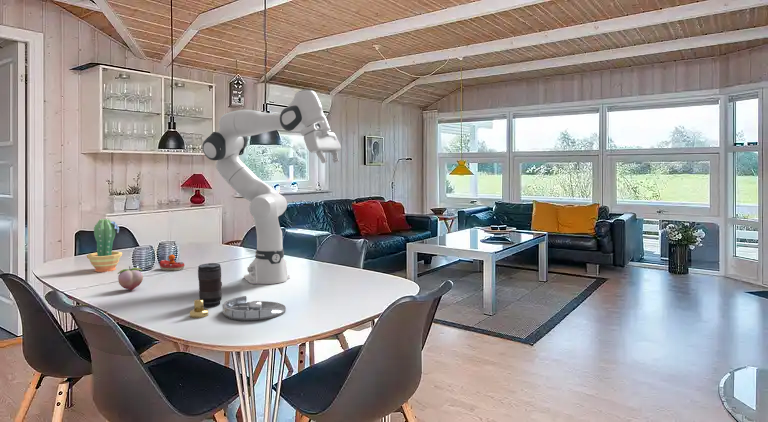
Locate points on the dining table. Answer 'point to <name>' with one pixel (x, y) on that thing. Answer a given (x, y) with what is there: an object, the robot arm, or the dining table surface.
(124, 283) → the decorative fruit
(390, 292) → the dining table surface
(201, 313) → the planet gear
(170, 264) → the toy boat
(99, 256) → the potted cactus
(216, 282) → the camera lens
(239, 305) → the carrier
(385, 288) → the dining table surface
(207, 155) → the robot arm
